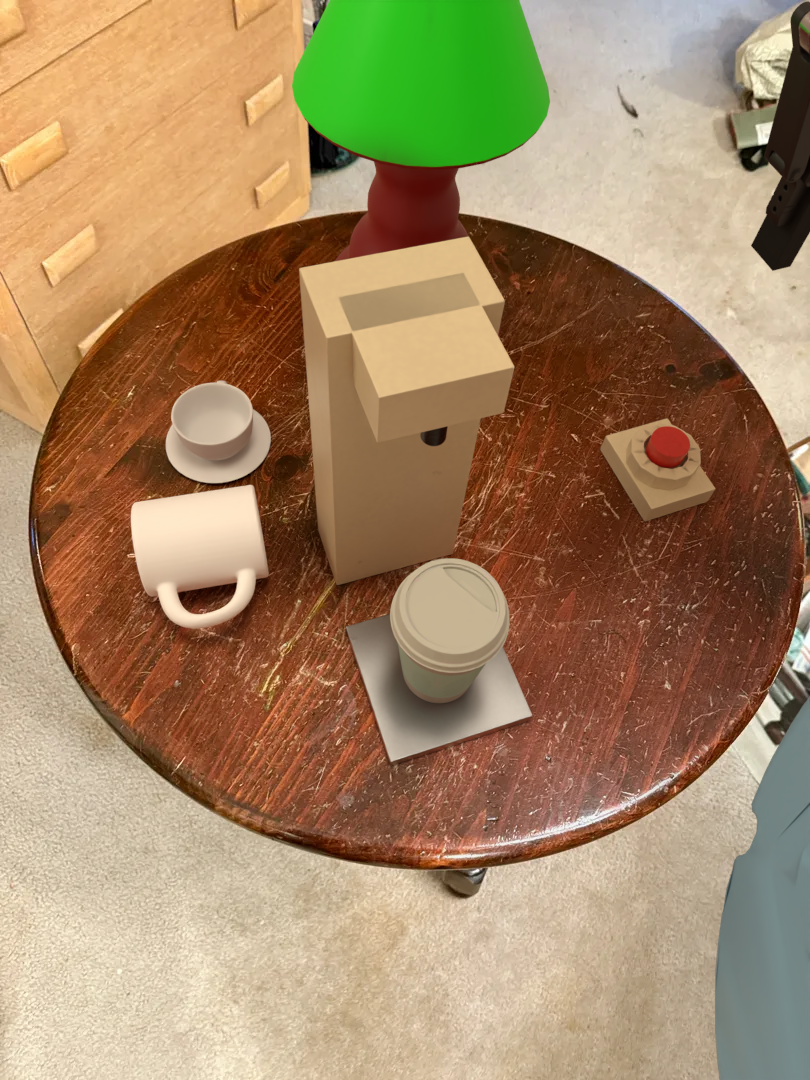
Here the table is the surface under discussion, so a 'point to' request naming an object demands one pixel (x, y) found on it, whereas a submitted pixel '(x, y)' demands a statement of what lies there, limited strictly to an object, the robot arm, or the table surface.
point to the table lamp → (420, 104)
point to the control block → (656, 473)
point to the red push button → (667, 447)
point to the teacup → (216, 434)
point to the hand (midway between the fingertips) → (770, 255)
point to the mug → (199, 549)
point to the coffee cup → (447, 626)
